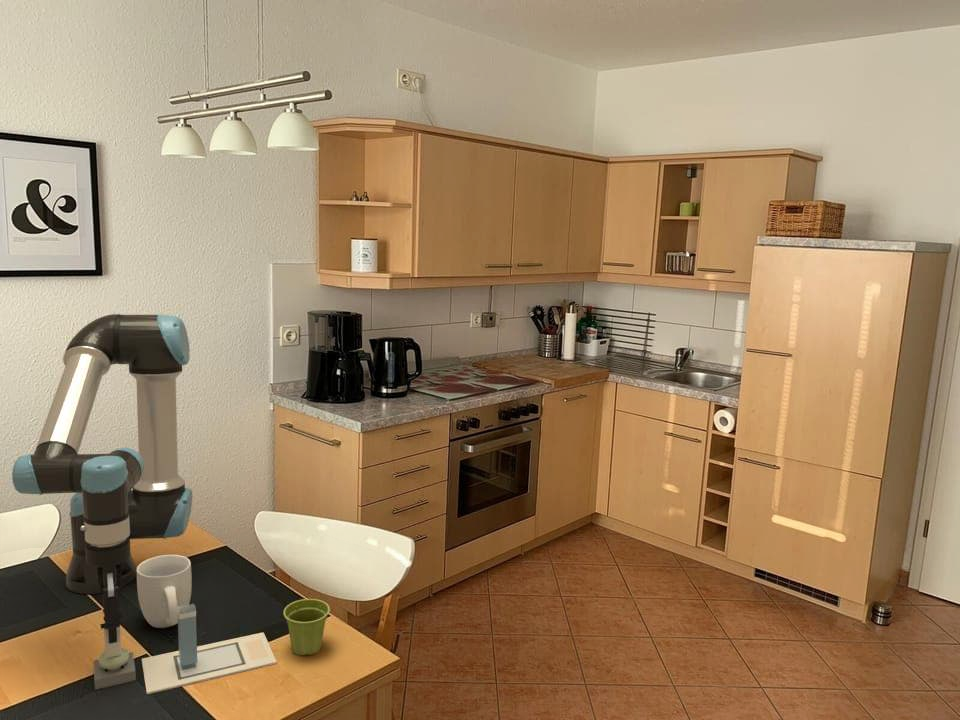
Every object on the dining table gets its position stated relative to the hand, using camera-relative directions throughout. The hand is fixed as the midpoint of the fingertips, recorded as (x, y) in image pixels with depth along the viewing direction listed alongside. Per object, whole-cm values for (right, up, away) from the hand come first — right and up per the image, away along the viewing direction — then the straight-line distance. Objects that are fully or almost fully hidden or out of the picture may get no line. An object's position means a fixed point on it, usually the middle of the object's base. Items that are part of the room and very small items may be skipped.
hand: (113, 654), depth 143 cm
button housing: (0, -4, +1) cm, 4 cm away
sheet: (+16, -4, +6) cm, 18 cm away
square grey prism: (+13, -4, +4) cm, 14 cm away
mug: (+2, -1, +20) cm, 20 cm away
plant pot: (+34, -4, +13) cm, 37 cm away
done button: (0, -4, +1) cm, 4 cm away
